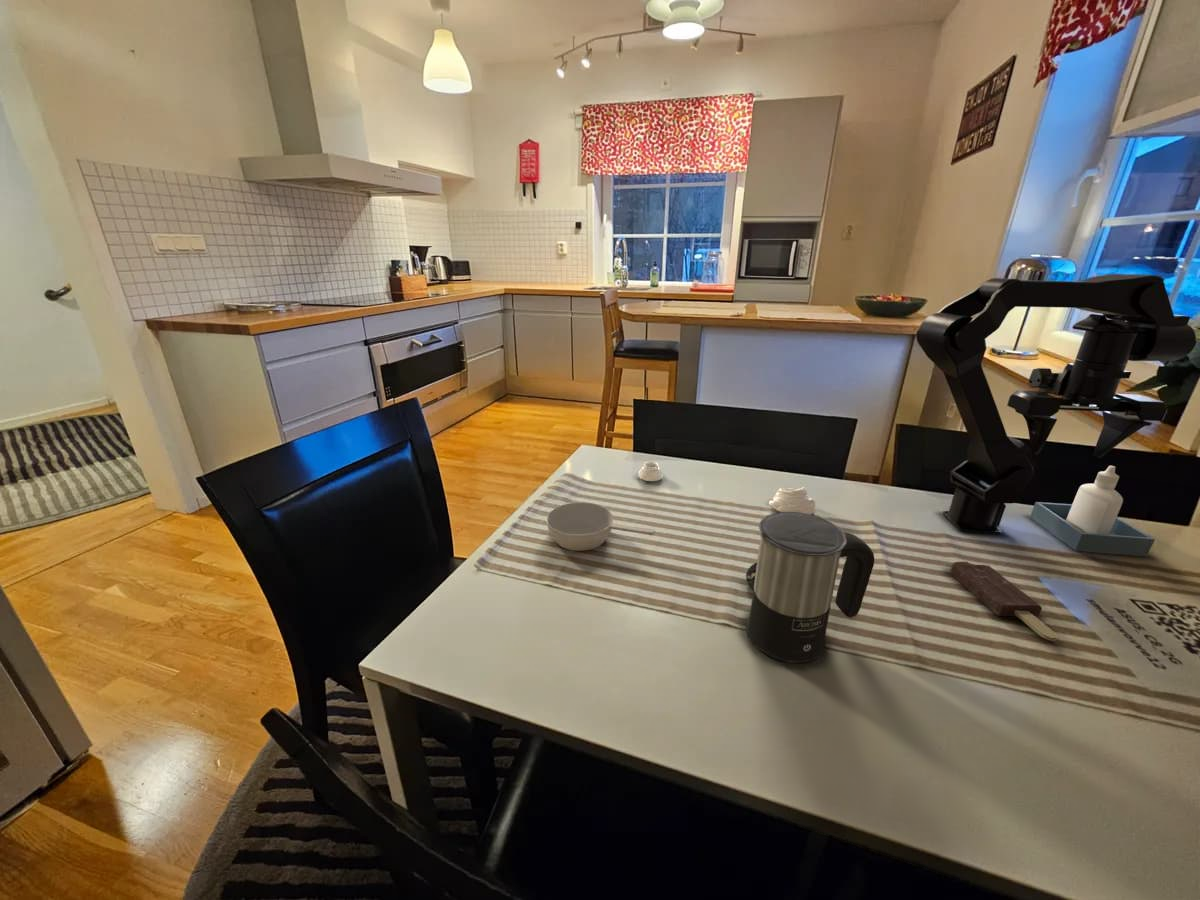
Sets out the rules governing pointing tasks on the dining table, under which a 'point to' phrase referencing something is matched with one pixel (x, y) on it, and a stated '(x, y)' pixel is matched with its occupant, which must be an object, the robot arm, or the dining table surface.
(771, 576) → the milk frother
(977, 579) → the ice cream bar
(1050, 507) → the blue-grey tray
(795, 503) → the whipped cream
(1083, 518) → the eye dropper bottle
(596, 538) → the small pan
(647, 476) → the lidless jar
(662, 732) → the dining table surface
